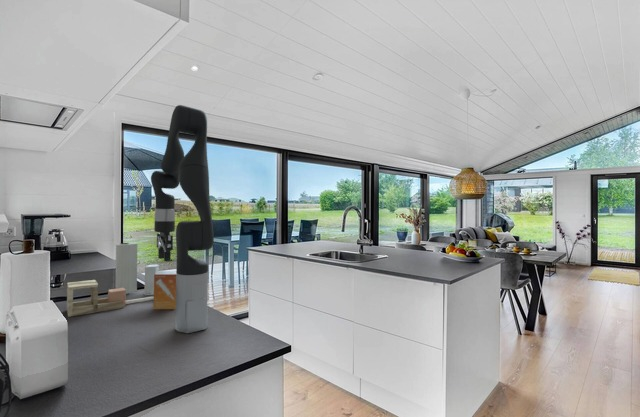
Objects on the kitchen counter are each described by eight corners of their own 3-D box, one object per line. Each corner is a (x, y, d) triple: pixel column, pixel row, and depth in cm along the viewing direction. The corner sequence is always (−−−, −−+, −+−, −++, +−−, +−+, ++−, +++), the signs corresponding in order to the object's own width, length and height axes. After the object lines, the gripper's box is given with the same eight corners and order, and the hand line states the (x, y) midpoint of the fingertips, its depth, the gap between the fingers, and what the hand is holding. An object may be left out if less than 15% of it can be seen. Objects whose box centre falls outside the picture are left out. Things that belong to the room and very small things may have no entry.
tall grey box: (111, 293, 137) (112, 243, 137) (125, 290, 143) (126, 242, 143) (123, 296, 134) (124, 244, 134) (136, 292, 140) (137, 243, 140)
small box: (152, 310, 117) (153, 274, 117) (159, 304, 123) (159, 270, 123) (176, 309, 118) (177, 273, 118) (181, 304, 124) (182, 270, 124)
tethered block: (168, 299, 131) (168, 284, 131) (109, 308, 118) (110, 292, 118) (164, 296, 134) (165, 282, 134) (107, 305, 121) (108, 289, 121)
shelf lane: (123, 307, 119) (123, 281, 119) (68, 316, 108) (68, 287, 108) (119, 302, 126) (119, 277, 126) (66, 310, 115) (67, 282, 115)
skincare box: (155, 295, 137) (155, 266, 137) (144, 295, 136) (144, 267, 135) (158, 291, 142) (159, 264, 142) (148, 291, 141) (148, 264, 141)
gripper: (180, 220, 129) (179, 261, 129) (169, 219, 140) (168, 256, 140) (159, 220, 124) (158, 263, 124) (150, 219, 135) (149, 258, 135)
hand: (164, 259), depth 132 cm, fingers open, 8 cm apart
